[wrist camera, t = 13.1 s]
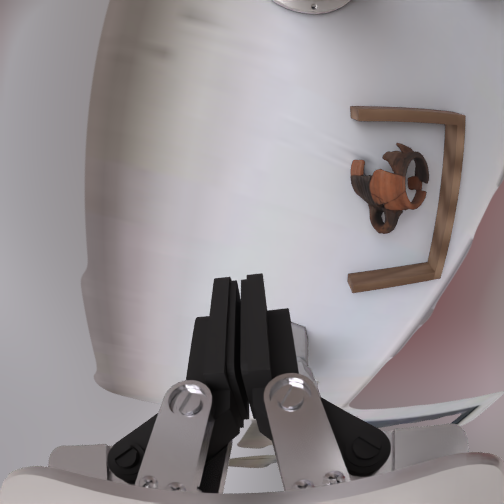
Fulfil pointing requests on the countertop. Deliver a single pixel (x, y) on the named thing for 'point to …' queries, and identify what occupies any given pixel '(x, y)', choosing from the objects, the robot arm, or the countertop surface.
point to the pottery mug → (390, 187)
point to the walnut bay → (446, 198)
